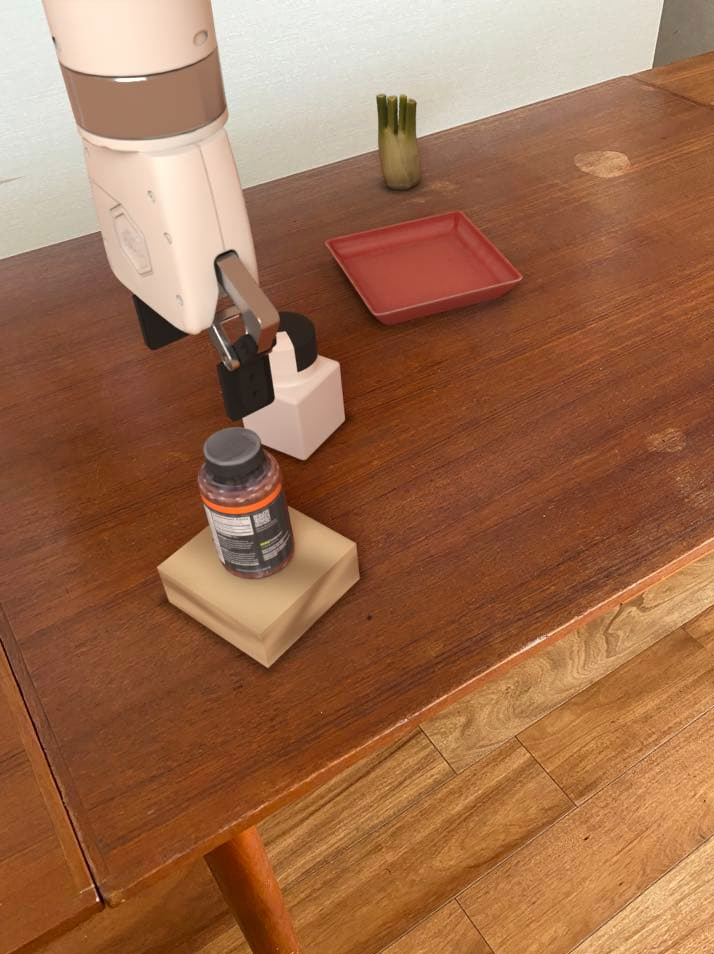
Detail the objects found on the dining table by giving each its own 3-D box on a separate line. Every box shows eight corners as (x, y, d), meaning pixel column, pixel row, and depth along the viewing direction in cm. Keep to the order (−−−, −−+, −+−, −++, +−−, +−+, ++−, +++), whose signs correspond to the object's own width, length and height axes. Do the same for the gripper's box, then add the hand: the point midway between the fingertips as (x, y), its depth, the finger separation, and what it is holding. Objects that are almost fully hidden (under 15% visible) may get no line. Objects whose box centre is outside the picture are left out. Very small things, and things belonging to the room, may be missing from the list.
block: (268, 670, 65) (259, 634, 62) (169, 603, 70) (156, 567, 67) (360, 580, 71) (356, 543, 68) (263, 524, 76) (255, 487, 73)
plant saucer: (375, 340, 95) (374, 314, 92) (325, 263, 106) (322, 238, 104) (523, 304, 99) (526, 277, 97) (459, 234, 111) (460, 209, 108)
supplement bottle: (246, 518, 70) (221, 407, 62) (309, 540, 68) (292, 429, 60) (203, 568, 67) (171, 457, 58) (269, 593, 65) (245, 482, 56)
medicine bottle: (288, 399, 88) (271, 294, 79) (346, 421, 86) (336, 315, 77) (245, 439, 84) (222, 333, 75) (305, 463, 81) (288, 356, 73)
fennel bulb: (375, 183, 121) (370, 92, 112) (404, 174, 123) (402, 84, 114) (397, 198, 118) (394, 106, 109) (427, 189, 120) (426, 97, 111)
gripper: (2, 62, 46) (92, 338, 58) (171, 170, 37) (233, 469, 49) (130, 30, 49) (188, 298, 61) (313, 122, 40) (338, 413, 52)
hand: (208, 374), depth 55 cm, fingers open, 9 cm apart
